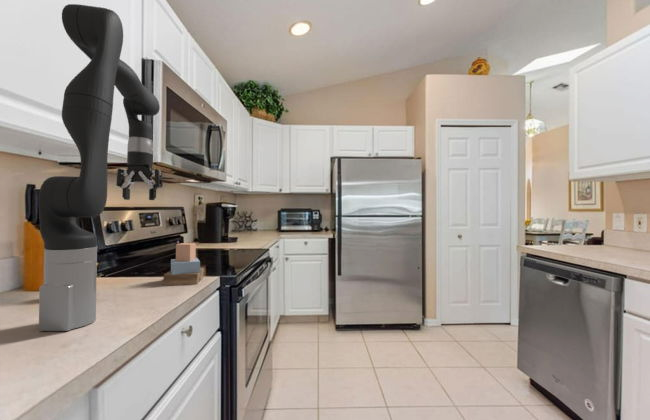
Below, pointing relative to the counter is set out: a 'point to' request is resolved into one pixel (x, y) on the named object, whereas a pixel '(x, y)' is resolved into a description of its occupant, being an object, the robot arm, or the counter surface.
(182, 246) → the stack block
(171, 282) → the base block
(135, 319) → the counter surface
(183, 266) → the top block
